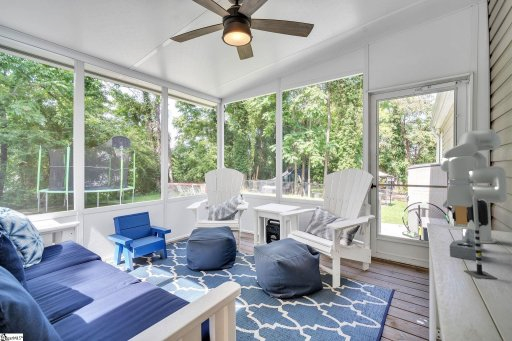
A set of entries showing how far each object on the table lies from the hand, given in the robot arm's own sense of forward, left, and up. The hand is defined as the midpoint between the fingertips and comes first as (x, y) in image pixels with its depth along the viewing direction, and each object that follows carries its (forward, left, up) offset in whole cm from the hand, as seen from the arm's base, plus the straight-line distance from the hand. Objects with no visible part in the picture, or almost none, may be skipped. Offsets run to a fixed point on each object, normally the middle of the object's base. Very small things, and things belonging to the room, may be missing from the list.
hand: (461, 220), depth 114 cm
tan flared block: (0, 0, -1) cm, 1 cm away
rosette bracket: (-9, 0, -17) cm, 19 cm away
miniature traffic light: (+23, +7, -17) cm, 29 cm away
